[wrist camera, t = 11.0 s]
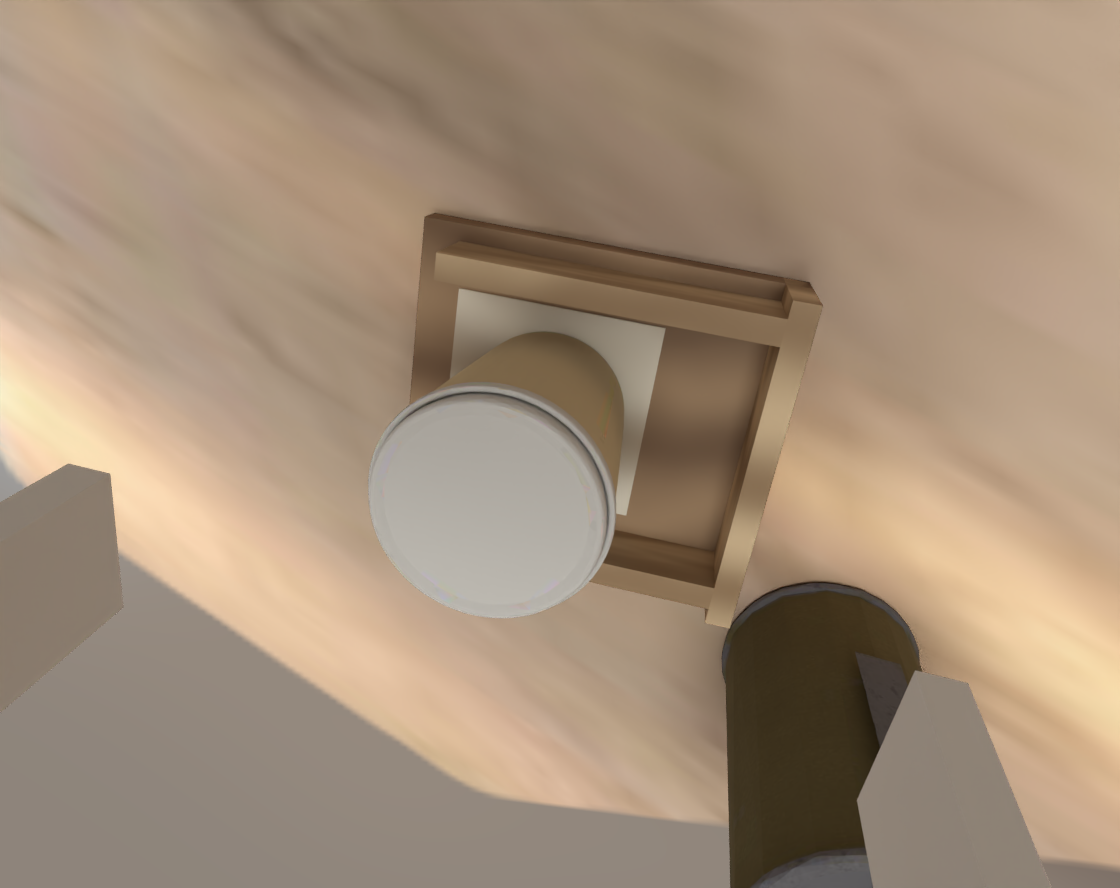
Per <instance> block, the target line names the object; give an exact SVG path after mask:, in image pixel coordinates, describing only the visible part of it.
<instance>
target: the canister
mask: <svg viewBox="0 0 1120 888" xmlns="http://www.w3.org/2000/svg"><path fill="white" fill-rule="evenodd" d="M915 670H916V671H920V672H922V669H921V666H920V662H919V650H918V646H917V644H916V641H915V638H914V636H913V634H912V632H911V630H910V628H909V627H908V625H907V624H906V623H905V621H904V620H903V619H902V618H901V616H900V615H899V614H898V613H897V612H896V611H895V610H893V609H892V608H891V607H890V606H889V605H887V604H886V603H885V602H884V601H882V600H880V599H878V598H876V597H874V596H872V595H870V594H868V593H866V592H864V591H862V590H859V589H855V588H851V587H847V586H843V585H836V584H828V583H809V584H802V585H797V586H791V587H785V588H782V589H779V590H777V591H775V592H772V593H770V594H768V595H765V596H763V597H762V598H760V599H759V600H757V601H756V602H754V603H753V604H752V605H751V606H749V607H748V608H747V609H746V610H745V611H744V612H743V613H742V614H741V615H740V616H739V617H738V618H737V620H736V621H735V622H734V623H733V624H732V625H731V627H730V630H729V632H728V635H727V637H726V641H725V644H724V648H723V652H722V673H723V676H724V680H725V683H726V712H727V757H728V801H729V842H730V843H729V845H730V887H731V888H873V884H872V879H871V873H870V868H869V862H868V857H867V852H866V846H865V841H864V836H863V830H862V825H861V819H860V814H859V809H858V803H857V799H858V797H859V794H860V792H861V790H862V788H863V785H864V783H865V781H866V779H867V777H868V774H869V772H870V770H871V768H872V765H873V763H874V761H875V759H876V756H877V754H878V752H879V750H880V748H881V745H882V743H883V741H884V739H885V736H886V734H887V732H888V730H889V727H890V725H891V723H892V721H893V719H894V716H895V714H896V712H897V710H898V707H899V705H900V703H901V701H902V698H903V696H904V694H905V692H906V690H907V687H908V685H909V683H910V681H911V678H912V676H913V674H914V672H915Z"/></svg>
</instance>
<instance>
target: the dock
mask: <svg viewBox="0 0 1120 888" xmlns="http://www.w3.org/2000/svg"><path fill="white" fill-rule="evenodd" d="M822 308H823V305H822V303H821V302H820V300H819V298H818V296H817V295H816V293H815V291H814V289H813V288H812V286H811V284H810V283H809V282H804V281H799V280H793V279H788V278H782V277H777V276H772V275H766V274H761V273H755V272H750V271H745V270H739V269H734V268H728V267H723V266H717V265H712V264H707V263H701V262H696V261H690V260H685V259H680V258H674V257H669V256H663V255H658V254H653V253H647V252H642V251H636V250H631V249H626V248H620V247H615V246H609V245H604V244H599V243H593V242H588V241H582V240H577V239H572V238H566V237H561V236H555V235H550V234H545V233H539V232H534V231H528V230H523V229H518V228H512V227H507V226H501V225H496V224H491V223H485V222H480V221H474V220H469V219H463V218H458V217H453V216H447V215H442V214H436V213H434V214H431V215H428V216H425V219H424V232H423V244H422V256H421V269H420V281H419V294H418V306H417V319H416V331H415V343H414V356H413V368H412V381H411V393H410V404H412V403H413V402H415V401H416V400H418V399H419V398H421V397H423V396H425V395H427V394H429V393H430V392H433V391H434V390H436V389H437V388H438V387H440V386H441V385H442V384H444V383H445V382H447V381H448V380H449V379H451V378H452V377H453V376H455V375H456V374H458V373H459V372H460V371H462V370H463V369H465V368H466V367H468V366H469V365H470V364H472V363H473V362H475V361H476V360H478V359H479V358H480V357H482V356H483V355H485V354H486V353H488V352H489V351H490V350H492V349H493V348H495V347H496V346H498V345H500V344H501V343H503V342H505V341H507V340H509V339H511V338H513V337H516V336H518V335H522V334H526V333H531V332H543V331H546V332H556V333H561V334H565V335H568V336H571V337H574V338H576V339H578V340H580V341H582V342H584V343H586V344H587V345H589V346H590V347H592V348H593V349H594V350H596V351H597V352H598V353H599V354H600V355H601V356H602V357H603V358H604V359H605V360H606V361H607V363H608V364H609V365H610V367H611V368H612V370H613V371H614V373H615V375H616V377H617V379H618V382H619V384H620V387H621V390H622V394H623V400H624V429H623V438H622V448H621V457H620V466H619V476H618V485H617V492H616V523H615V531H614V535H613V539H612V543H611V546H610V548H609V551H608V553H607V556H606V558H605V559H604V561H603V563H602V565H601V567H600V568H599V570H598V571H597V572H596V574H595V575H594V576H593V578H592V579H591V580H590V581H589V582H592V583H597V584H601V585H605V586H610V587H614V588H618V589H623V590H627V591H631V592H636V593H640V594H645V595H649V596H653V597H658V598H662V599H666V600H671V601H675V602H679V603H684V604H688V605H692V606H697V607H701V608H705V623H708V624H712V625H716V626H721V627H725V628H729V629H730V625H731V622H732V619H733V615H734V612H735V608H736V605H737V601H738V598H739V594H740V591H741V587H742V584H743V581H744V577H745V574H746V570H747V567H748V563H749V560H750V556H751V553H752V549H753V546H754V543H755V539H756V536H757V532H758V529H759V525H760V522H761V518H762V515H763V511H764V508H765V505H766V501H767V498H768V494H769V491H770V487H771V484H772V480H773V477H774V473H775V470H776V467H777V463H778V460H779V456H780V453H781V449H782V446H783V442H784V439H785V435H786V432H787V429H788V425H789V422H790V418H791V415H792V411H793V408H794V404H795V401H796V397H797V394H798V391H799V387H800V384H801V380H802V377H803V373H804V370H805V366H806V363H807V359H808V356H809V353H810V349H811V346H812V342H813V339H814V335H815V332H816V328H817V325H818V321H819V318H820V315H821V311H822Z"/></svg>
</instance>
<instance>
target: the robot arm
mask: <svg viewBox="0 0 1120 888" xmlns="http://www.w3.org/2000/svg"><path fill="white" fill-rule="evenodd" d="M122 608H123V597H122V587H121V578H120V567H119V557H118V547H117V537H116V527H115V517H114V507H113V497H112V487H111V476H110V474H109V473H105V472H101V471H97V470H93V469H89V468H84V467H80V466H76V465H72V464H67V465H65V466H63V467H62V468H60V469H58V470H56V471H54V472H53V473H51V474H49V475H47V476H46V477H44V478H42V479H40V480H39V481H37V482H35V483H33V484H32V485H30V486H28V487H26V488H24V489H23V490H21V491H19V492H17V493H16V494H14V495H12V496H10V497H9V498H7V499H5V500H3V501H2V502H0V713H1V712H2V711H3V710H4V709H6V708H7V707H8V706H9V705H10V704H11V703H12V702H14V701H15V700H16V699H17V698H18V697H20V696H21V695H22V694H23V693H24V692H25V691H27V690H28V689H29V688H30V687H31V686H32V685H33V684H35V683H36V682H37V681H38V680H39V679H40V678H42V677H43V676H44V675H45V674H46V673H47V672H48V671H50V670H51V669H52V668H53V667H55V666H56V665H57V664H58V663H59V662H60V661H62V660H63V659H64V658H65V657H66V656H67V655H69V654H70V653H71V652H72V651H73V650H74V649H76V648H77V647H78V646H79V645H80V644H81V643H82V642H84V641H85V640H86V639H87V638H88V637H89V636H91V635H92V634H93V633H94V632H95V631H97V629H99V628H100V627H101V626H102V625H103V624H105V623H106V622H107V621H108V620H109V619H111V618H112V617H113V616H114V615H115V614H116V613H118V612H119V611H120V610H121V609H122ZM857 803H858V809H859V814H860V819H861V825H862V830H863V836H864V841H865V846H866V852H867V857H868V862H869V868H870V873H871V879H872V884H873V888H1052V887H1051V885H1050V882H1049V880H1048V878H1047V875H1046V873H1045V870H1044V868H1043V865H1042V863H1041V860H1040V858H1039V855H1038V853H1037V850H1036V848H1035V846H1034V843H1033V841H1032V838H1031V836H1030V833H1029V831H1028V828H1027V826H1026V824H1025V821H1024V819H1023V816H1022V814H1021V811H1020V809H1019V807H1018V804H1017V802H1016V799H1015V797H1014V794H1013V792H1012V789H1011V787H1010V785H1009V782H1008V780H1007V777H1006V775H1005V772H1004V770H1003V767H1002V765H1001V763H1000V760H999V758H998V755H997V753H996V750H995V748H994V745H993V743H992V741H991V738H990V736H989V733H988V731H987V728H986V726H985V724H984V721H983V719H982V716H981V714H980V711H979V709H978V706H977V704H976V702H975V699H974V697H973V694H972V692H971V689H970V687H969V684H968V683H966V682H961V681H957V680H953V679H949V678H945V677H941V676H937V675H933V674H929V673H925V672H920V671H916V670H915V672H914V674H913V676H912V678H911V681H910V683H909V685H908V687H907V690H906V692H905V694H904V696H903V698H902V701H901V703H900V705H899V707H898V710H897V712H896V714H895V716H894V719H893V721H892V723H891V725H890V727H889V730H888V732H887V734H886V736H885V739H884V741H883V743H882V745H881V748H880V750H879V752H878V754H877V756H876V759H875V761H874V763H873V765H872V768H871V770H870V772H869V774H868V777H867V779H866V781H865V783H864V785H863V788H862V790H861V792H860V794H859V797H858V799H857Z"/></svg>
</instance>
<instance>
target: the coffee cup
mask: <svg viewBox="0 0 1120 888" xmlns="http://www.w3.org/2000/svg"><path fill="white" fill-rule="evenodd" d="M623 429H624V400H623V394H622V390H621V387H620V384H619V382H618V379H617V377H616V375H615V373H614V371H613V370H612V368H611V367H610V365H609V364H608V363H607V361H606V360H605V359H604V358H603V357H602V356H601V355H600V354H599V353H598V352H597V351H596V350H594V349H593V348H592V347H590V346H589V345H587V344H586V343H584V342H582V341H580V340H578V339H576V338H574V337H571V336H568V335H565V334H561V333H556V332H546V331H543V332H531V333H526V334H522V335H518V336H516V337H513V338H511V339H509V340H507V341H505V342H503V343H501V344H500V345H498V346H496V347H495V348H493V349H492V350H490V351H489V352H488V353H486V354H485V355H483V356H482V357H480V358H479V359H478V360H476V361H475V362H473V363H472V364H470V365H469V366H468V367H466V368H465V369H463V370H462V371H460V372H459V373H458V374H456V375H455V376H453V377H452V378H451V379H449V380H448V381H447V382H445V383H444V384H442V385H441V386H440V387H438V388H437V389H436V390H434V391H433V392H430V393H429V394H427V395H425V396H423V397H421V398H419V399H418V400H416V401H415V402H413V403H412V404H410V405H409V406H407V407H406V408H405V409H404V410H403V411H402V412H400V413H399V414H398V415H397V416H396V417H395V419H394V420H393V421H392V422H391V423H390V424H389V426H388V427H387V429H386V430H385V432H384V433H383V435H382V436H381V438H380V440H379V442H378V444H377V446H376V449H375V451H374V454H373V457H372V461H371V465H370V469H369V479H368V495H369V507H370V513H371V518H372V523H373V527H374V529H375V532H376V535H377V538H378V540H379V542H380V544H381V546H382V548H383V550H384V551H385V553H386V555H387V556H388V558H389V559H390V561H391V562H392V563H393V565H394V566H395V567H396V568H397V570H398V571H399V572H400V573H401V574H402V575H403V577H405V578H406V579H407V580H408V581H409V582H410V583H411V584H412V585H413V586H415V587H416V588H417V589H418V590H420V591H421V592H422V593H424V594H425V595H427V596H428V597H430V598H432V599H433V600H435V601H437V602H439V603H440V604H442V605H444V606H447V607H449V608H452V609H454V610H457V611H460V612H463V613H466V614H471V615H475V616H481V617H488V618H516V617H522V616H528V615H532V614H535V613H538V612H541V611H544V610H547V609H549V608H551V607H553V606H555V605H557V604H559V603H561V602H563V601H565V600H567V599H568V598H570V597H571V596H573V595H574V594H576V593H577V592H578V591H579V590H581V589H582V588H583V587H584V586H585V585H586V584H587V583H588V582H589V581H590V580H591V579H592V578H593V576H594V575H595V574H596V572H597V571H598V570H599V568H600V567H601V565H602V563H603V561H604V559H605V558H606V556H607V553H608V551H609V548H610V546H611V543H612V539H613V535H614V531H615V523H616V492H617V485H618V476H619V466H620V457H621V448H622V438H623Z"/></svg>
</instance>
